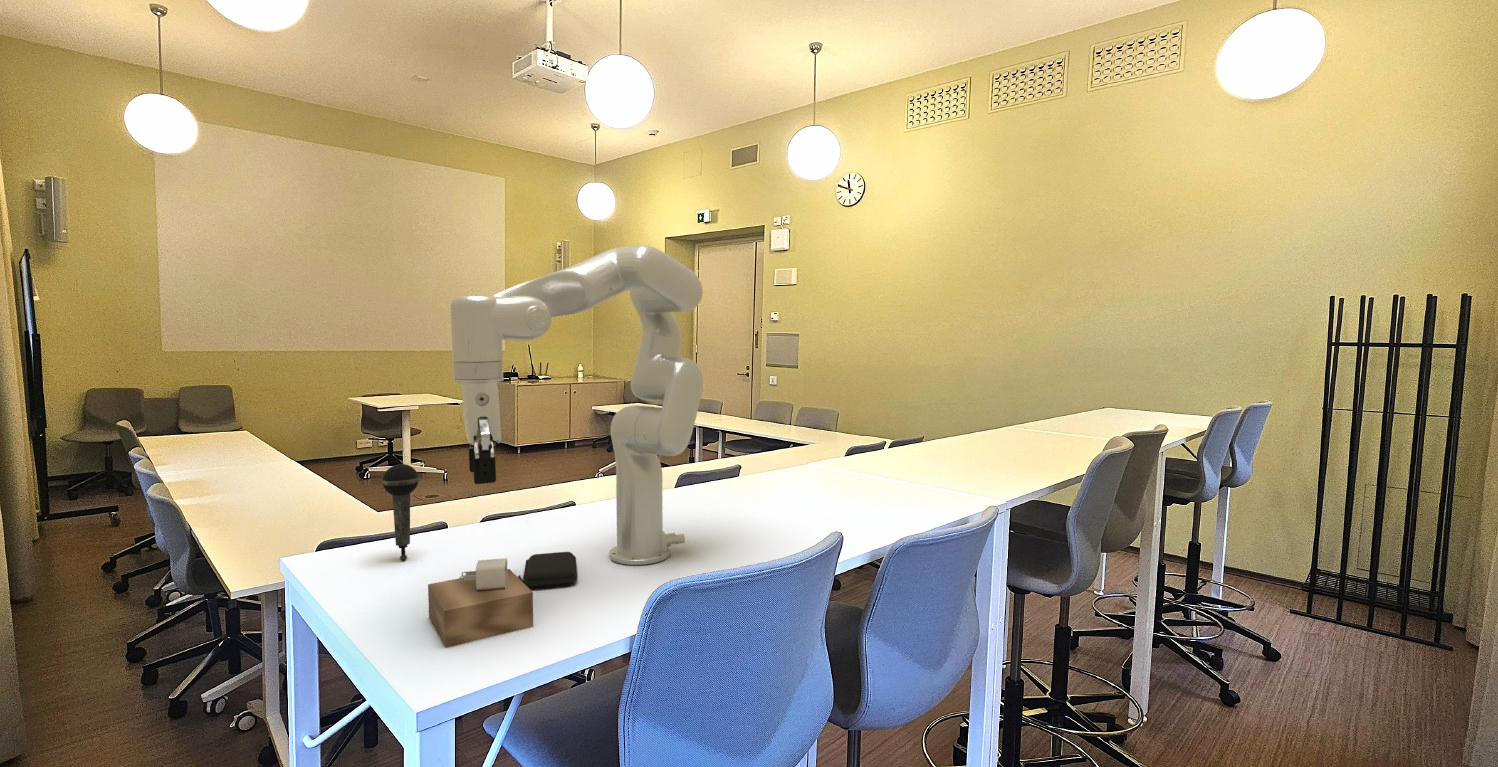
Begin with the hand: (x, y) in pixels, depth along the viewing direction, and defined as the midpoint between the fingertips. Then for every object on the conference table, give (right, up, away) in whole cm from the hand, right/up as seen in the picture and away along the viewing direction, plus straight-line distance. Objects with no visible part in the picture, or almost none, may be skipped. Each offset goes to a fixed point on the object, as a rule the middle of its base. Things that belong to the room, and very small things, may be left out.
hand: (482, 476), depth 110 cm
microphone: (-27, -21, +28) cm, 44 cm away
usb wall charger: (+1, -18, -1) cm, 18 cm away
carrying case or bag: (+5, -22, +19) cm, 30 cm away
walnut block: (0, -24, -2) cm, 24 cm away
